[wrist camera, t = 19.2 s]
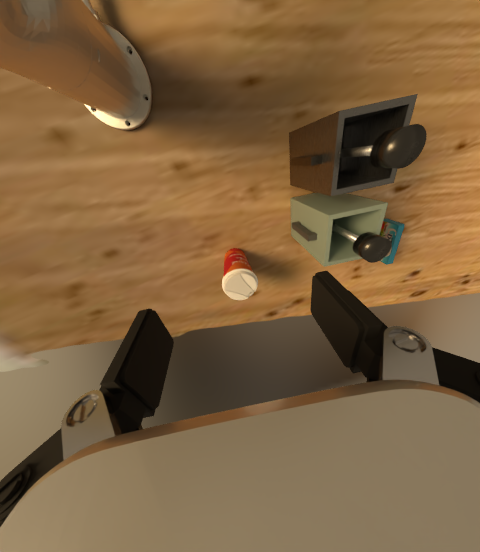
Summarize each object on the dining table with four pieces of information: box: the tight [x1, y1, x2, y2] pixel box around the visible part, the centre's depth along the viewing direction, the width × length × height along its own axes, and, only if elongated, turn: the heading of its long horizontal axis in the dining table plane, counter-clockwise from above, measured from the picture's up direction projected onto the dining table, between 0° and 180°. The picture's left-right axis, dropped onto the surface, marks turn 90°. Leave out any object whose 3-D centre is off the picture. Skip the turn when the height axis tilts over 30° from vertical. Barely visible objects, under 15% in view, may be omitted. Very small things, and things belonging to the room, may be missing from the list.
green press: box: [291, 192, 388, 267], centre depth 39 cm, size 10×12×18 cm
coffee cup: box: [222, 248, 258, 300], centre depth 45 cm, size 8×8×15 cm
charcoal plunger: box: [340, 124, 426, 168], centre depth 28 cm, size 8×8×20 cm
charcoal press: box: [289, 94, 417, 196], centre depth 32 cm, size 10×12×18 cm
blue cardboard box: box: [379, 218, 404, 264], centre depth 51 cm, size 12×2×6 cm, turn 12°
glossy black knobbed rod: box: [332, 223, 392, 262], centre depth 35 cm, size 8×8×20 cm
